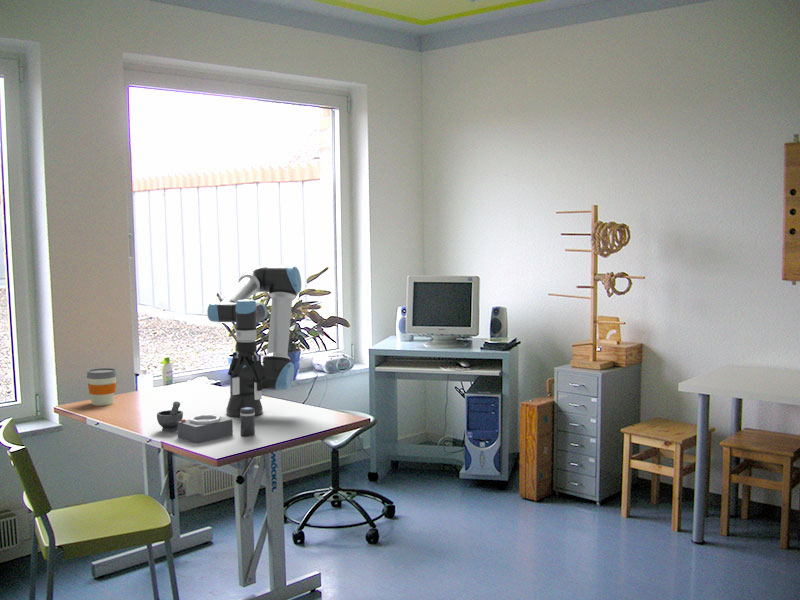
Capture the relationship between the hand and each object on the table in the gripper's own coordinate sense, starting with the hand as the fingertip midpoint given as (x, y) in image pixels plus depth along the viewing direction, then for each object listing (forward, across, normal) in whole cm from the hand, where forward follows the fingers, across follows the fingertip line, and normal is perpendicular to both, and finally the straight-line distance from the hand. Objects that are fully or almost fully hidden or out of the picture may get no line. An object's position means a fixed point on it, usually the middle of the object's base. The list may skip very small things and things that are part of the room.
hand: (246, 396), depth 289 cm
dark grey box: (+15, -10, -12) cm, 21 cm away
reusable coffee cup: (+14, -93, -10) cm, 95 cm away
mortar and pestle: (+15, -27, -16) cm, 35 cm away
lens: (+15, 0, 0) cm, 15 cm away
